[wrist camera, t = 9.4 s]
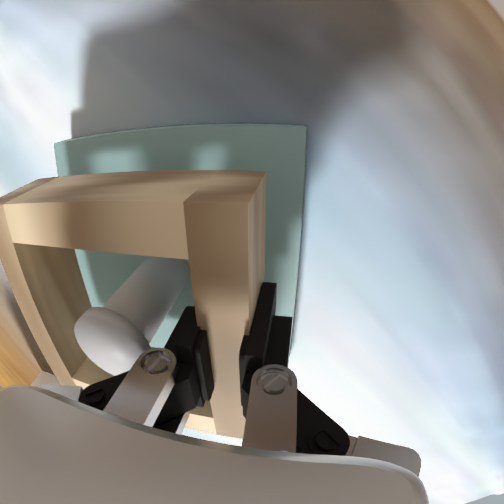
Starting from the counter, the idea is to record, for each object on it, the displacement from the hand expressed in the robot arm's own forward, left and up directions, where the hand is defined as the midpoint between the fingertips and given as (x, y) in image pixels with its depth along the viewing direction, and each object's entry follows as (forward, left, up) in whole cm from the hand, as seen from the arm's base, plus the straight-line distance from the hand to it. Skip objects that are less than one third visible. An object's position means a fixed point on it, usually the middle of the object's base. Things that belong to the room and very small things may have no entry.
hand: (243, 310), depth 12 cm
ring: (+5, 0, -1) cm, 5 cm away
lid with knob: (+4, 0, -4) cm, 6 cm away
